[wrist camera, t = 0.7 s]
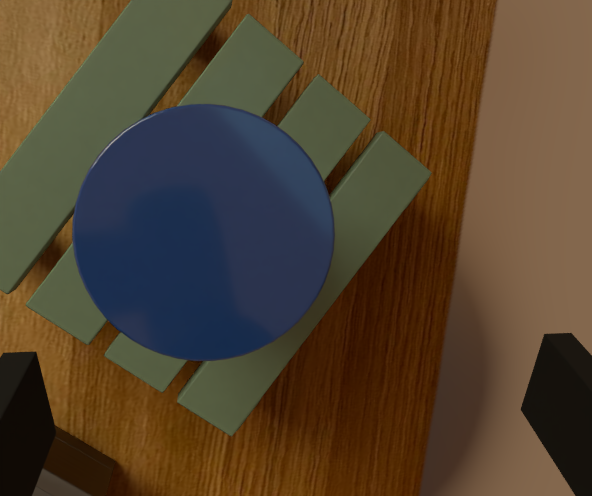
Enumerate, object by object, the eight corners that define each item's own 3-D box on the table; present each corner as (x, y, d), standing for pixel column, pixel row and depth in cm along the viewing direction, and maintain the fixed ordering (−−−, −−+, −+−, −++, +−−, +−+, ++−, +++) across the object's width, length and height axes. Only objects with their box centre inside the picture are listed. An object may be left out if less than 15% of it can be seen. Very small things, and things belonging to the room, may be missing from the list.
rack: (170, -11, 28) (164, -61, 22) (393, 177, 31) (438, 178, 26) (-14, 230, 28) (-71, 245, 22) (230, 392, 31) (238, 441, 25)
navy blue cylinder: (188, 106, 23) (181, 45, 12) (302, 196, 24) (384, 212, 14) (99, 223, 23) (13, 264, 12) (218, 306, 24) (235, 408, 14)
